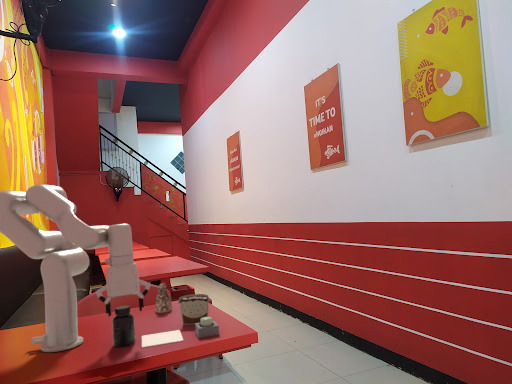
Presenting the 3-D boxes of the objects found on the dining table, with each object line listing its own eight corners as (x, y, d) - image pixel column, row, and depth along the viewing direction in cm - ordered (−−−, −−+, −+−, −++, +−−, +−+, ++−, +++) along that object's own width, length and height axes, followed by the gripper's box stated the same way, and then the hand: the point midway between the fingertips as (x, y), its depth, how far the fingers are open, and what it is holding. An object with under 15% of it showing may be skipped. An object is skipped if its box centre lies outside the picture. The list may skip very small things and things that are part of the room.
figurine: (152, 312, 158) (151, 285, 159) (160, 308, 165) (159, 281, 166) (167, 312, 156) (166, 284, 157) (174, 308, 163) (173, 281, 164)
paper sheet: (141, 347, 114) (141, 347, 114) (141, 336, 125) (141, 335, 125) (183, 341, 118) (183, 340, 118) (179, 330, 129) (179, 329, 129)
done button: (201, 329, 122) (201, 320, 122) (200, 326, 126) (199, 317, 126) (213, 328, 123) (213, 319, 123) (211, 324, 127) (210, 316, 127)
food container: (214, 318, 142) (213, 293, 142) (211, 323, 136) (209, 296, 136) (184, 320, 143) (182, 294, 144) (179, 324, 137) (177, 298, 137)
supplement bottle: (126, 339, 124) (125, 303, 124) (139, 342, 120) (138, 305, 121) (108, 346, 118) (107, 308, 119) (121, 349, 114) (120, 310, 115)
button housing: (198, 338, 120) (198, 328, 120) (195, 331, 127) (195, 323, 127) (219, 334, 122) (218, 325, 122) (215, 328, 129) (214, 320, 129)
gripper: (92, 265, 114) (95, 320, 113) (148, 258, 120) (152, 310, 119) (95, 263, 122) (98, 314, 120) (148, 256, 127) (152, 306, 126)
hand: (125, 312), depth 119 cm, fingers open, 9 cm apart
